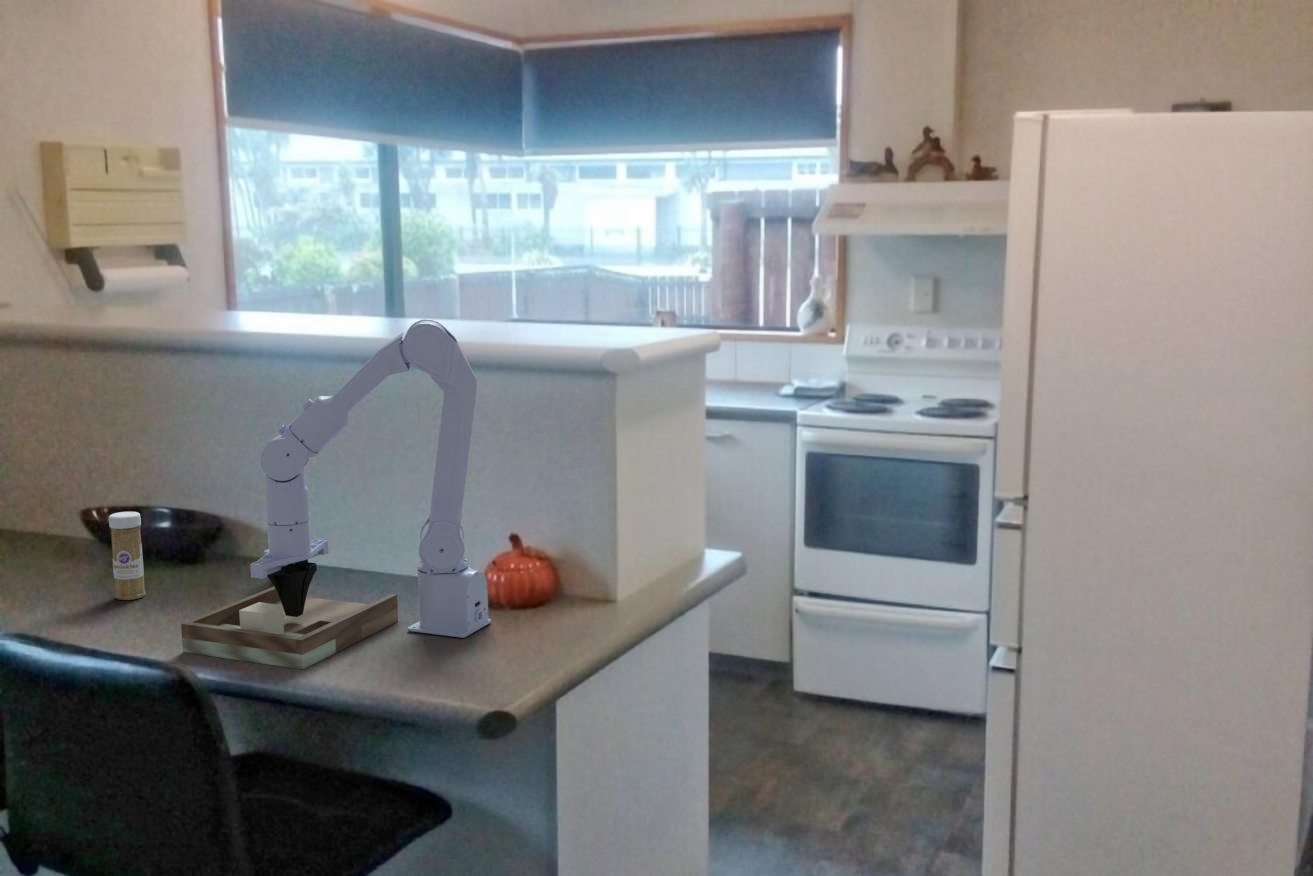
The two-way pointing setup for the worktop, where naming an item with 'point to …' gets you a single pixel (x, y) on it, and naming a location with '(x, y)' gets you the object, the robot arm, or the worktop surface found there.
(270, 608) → the cream cube
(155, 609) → the worktop surface
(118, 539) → the sprinkles bottle
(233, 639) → the box
